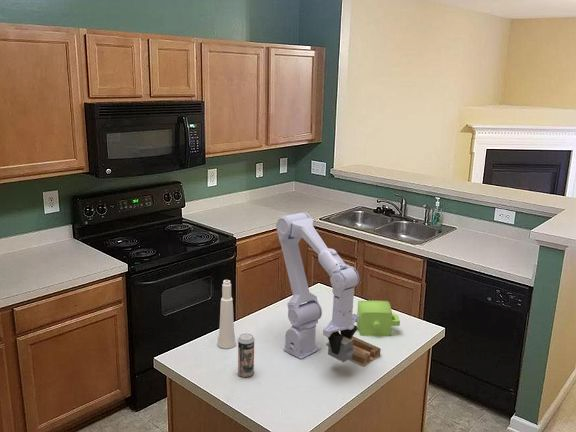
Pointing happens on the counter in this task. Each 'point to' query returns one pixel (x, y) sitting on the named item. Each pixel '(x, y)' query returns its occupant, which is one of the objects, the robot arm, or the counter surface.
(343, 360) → the block
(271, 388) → the counter surface
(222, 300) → the cosmetic bottle
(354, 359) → the pocket block
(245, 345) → the beer can
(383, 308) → the gearbox
